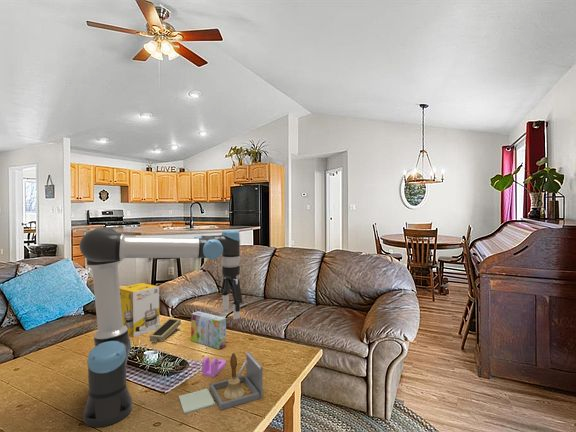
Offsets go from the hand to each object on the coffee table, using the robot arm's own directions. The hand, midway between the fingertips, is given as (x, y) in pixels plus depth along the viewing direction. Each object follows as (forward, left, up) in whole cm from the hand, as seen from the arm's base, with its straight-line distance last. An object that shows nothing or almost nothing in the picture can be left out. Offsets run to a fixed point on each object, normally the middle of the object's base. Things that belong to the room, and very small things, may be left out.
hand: (231, 313), depth 144 cm
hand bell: (-4, -17, -26) cm, 31 cm away
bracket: (-5, +5, -26) cm, 27 cm away
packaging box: (-32, +71, -26) cm, 83 cm away
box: (-21, +54, -26) cm, 64 cm away
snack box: (-1, +33, -26) cm, 42 cm away
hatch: (-4, -17, -26) cm, 31 cm away
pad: (-18, -15, -26) cm, 35 cm away
